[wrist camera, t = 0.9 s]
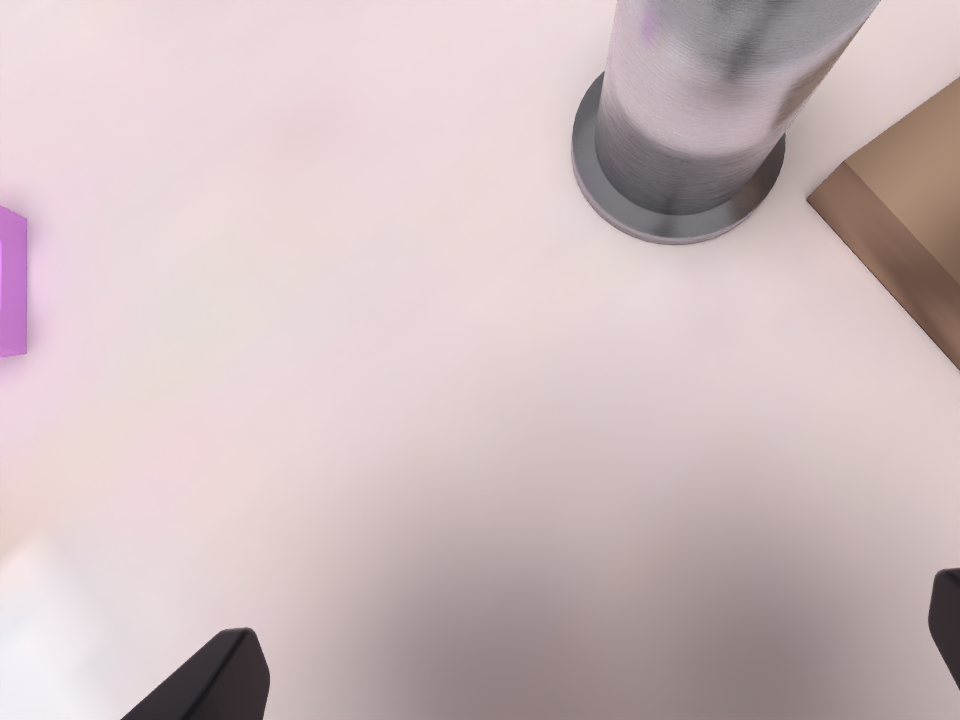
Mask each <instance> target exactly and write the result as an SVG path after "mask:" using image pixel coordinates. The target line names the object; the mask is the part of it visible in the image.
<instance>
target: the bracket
mask: <svg viewBox="0 0 960 720" xmlns="http://www.w3.org/2000/svg"><path fill="white" fill-rule="evenodd" d="M26 320H27V219H26V218H24V217H22V216H20V215H18V214H16V213H14V212H12V211H10V210H8V209H6V208H4V207H2V206H1V205H0V357H5V356H12V355H19V354H26Z"/></svg>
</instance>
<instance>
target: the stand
mask: <svg viewBox="0 0 960 720" xmlns="http://www.w3.org/2000/svg"><path fill="white" fill-rule="evenodd" d="M806 200H807V201H808V202H809V203H810V204H811V205H812V206H813V207H814V209H815V210H816V211H817V212H818V213H819V214H820V215H821V216H822V217H823V219H824V220H825V221H826V222H827V223H828V224H829V225H830V226H831V227H832V229H833V230H834V231H835V232H836V233H837V234H838V235H839V236H840V237H841V239H842V240H843V241H844V242H845V243H846V244H847V245H848V246H849V247H850V249H851V250H852V251H853V252H854V253H855V254H856V255H857V256H858V257H859V258H860V260H861V261H862V262H863V263H864V264H865V265H866V266H867V267H868V268H869V270H870V271H871V272H872V273H873V274H874V275H875V276H876V277H877V278H878V280H879V281H880V282H881V283H882V284H883V285H884V286H885V287H886V288H887V290H888V291H889V292H890V293H891V294H892V295H893V296H894V297H895V298H896V300H897V301H898V302H899V303H900V304H901V305H902V306H903V307H904V308H905V310H906V311H907V312H908V313H909V314H910V315H911V316H912V317H913V318H914V320H915V321H916V322H917V323H918V324H919V325H920V326H921V327H922V328H923V330H924V331H925V332H926V333H927V334H928V335H929V336H930V337H931V338H932V340H933V341H934V342H935V343H936V344H937V345H938V346H939V347H940V348H941V350H942V351H943V352H944V353H945V354H946V355H947V356H948V357H949V358H950V360H951V361H952V362H953V363H954V364H955V365H956V366H957V367H958V368H959V370H960V77H959V78H957V79H956V80H955V81H953V82H952V83H951V84H949V85H948V86H946V87H945V88H944V89H942V90H941V91H939V92H938V93H937V94H935V95H934V96H933V97H931V98H930V99H928V100H927V101H926V102H924V103H923V104H922V105H920V106H919V107H917V108H916V109H915V110H913V111H912V112H911V113H909V114H908V115H906V116H905V117H904V118H902V119H901V120H900V121H898V122H897V123H895V124H894V125H893V126H891V127H890V128H888V129H887V130H886V131H884V132H883V133H882V134H880V135H879V136H877V137H876V138H875V139H873V140H872V141H871V142H869V143H868V144H866V145H865V146H864V147H862V148H861V149H860V150H858V151H857V152H855V153H854V154H853V155H851V156H850V157H849V158H847V159H846V160H844V161H843V162H842V163H841V164H840V165H839V166H838V167H837V168H836V169H835V170H834V172H833V173H832V174H831V175H830V176H829V177H828V178H827V179H826V180H825V181H824V182H823V183H822V184H821V185H820V186H819V187H818V188H817V189H816V190H815V191H814V192H813V193H812V194H811V195H810V196H809V197H808V198H807V199H806Z"/></svg>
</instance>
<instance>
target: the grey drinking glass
mask: <svg viewBox="0 0 960 720" xmlns="http://www.w3.org/2000/svg"><path fill="white" fill-rule="evenodd" d="M880 1H881V0H618V1H617V6H616V12H615V18H614V24H613V29H612V35H611V41H610V46H609V52H608V58H607V63H606V69H605V71H604V72H603V73H602V74H601V75H600V76H599V77H598V78H597V79H596V80H595V81H594V82H593V84H592V85H591V86H590V88H589V89H588V90H587V92H586V94H585V95H584V97H583V99H582V101H581V103H580V105H579V108H578V111H577V113H576V117H575V122H574V126H573V135H572V146H571V154H572V164H573V169H574V174H575V176H576V179H577V182H578V185H579V187H580V189H581V191H582V193H583V195H584V196H585V198H586V199H587V201H588V202H589V203H590V205H591V206H592V207H593V208H594V210H595V211H596V212H597V213H598V214H599V215H600V216H601V217H602V218H604V219H605V220H606V221H607V222H608V223H610V224H611V225H612V226H614V227H616V228H617V229H619V230H620V231H622V232H624V233H626V234H628V235H631V236H633V237H635V238H638V239H642V240H645V241H648V242H653V243H659V244H670V245H680V244H691V243H697V242H702V241H705V240H709V239H712V238H715V237H717V236H719V235H721V234H724V233H726V232H728V231H729V230H731V229H733V228H734V227H736V226H737V225H739V224H740V223H741V222H743V221H744V220H745V219H746V218H747V217H749V216H750V215H751V213H752V212H753V211H754V210H755V209H756V208H757V207H758V206H759V205H760V203H761V202H762V201H763V200H764V199H765V197H766V196H767V194H768V193H769V191H770V190H771V189H772V187H773V185H774V183H775V181H776V179H777V177H778V175H779V173H780V170H781V167H782V163H783V159H784V153H785V131H786V130H787V128H788V127H789V126H790V124H791V123H792V122H793V120H794V119H795V117H796V116H797V115H798V113H799V112H800V111H801V109H802V108H803V106H804V105H805V104H806V102H807V101H808V100H809V98H810V97H811V95H812V94H813V93H814V91H815V90H816V89H817V87H818V86H819V85H820V83H821V82H822V80H823V79H824V78H825V76H826V75H827V74H828V72H829V71H830V69H831V68H832V67H833V65H834V64H835V63H836V61H837V60H838V58H839V57H840V56H841V54H842V53H843V52H844V50H845V49H846V47H847V46H848V45H849V43H850V42H851V41H852V39H853V38H854V37H855V35H856V34H857V32H858V31H859V30H860V28H861V27H862V26H863V24H864V23H865V21H866V20H867V19H868V17H869V16H870V15H871V13H872V12H873V10H874V9H875V8H876V6H877V5H878V4H879V2H880Z"/></svg>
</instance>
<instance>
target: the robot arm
mask: <svg viewBox="0 0 960 720" xmlns="http://www.w3.org/2000/svg"><path fill="white" fill-rule="evenodd" d="M928 623H929V629H930V633H931V635H932V638H933V640H934V642H935V644H936V646H937V648H938V650H939V652H940V654H941V655H942V657H943V659H944V661H945V663H946V665H947V667H948V669H949V671H950V673H951V675H952V676H953V678H954V680H955V682H956V684H957V686H958V688H959V690H960V568H951V569H943V570H940V571H938V572H937V574H936V575H935V578H934V583H933V590H932V596H931V603H930V609H929V616H928ZM269 687H270V673H269V668H268V665H267V663H266V660H265V657H264V654H263V652H262V649H261V646H260V643H259V641H258V638H257V635H256V633H255V632H254V631H253V630H252V629H251V628H234V629H226V630H222V631H220V632H219V633H218V634H216V635H215V636H214V637H213V638H212V639H211V640H210V641H209V642H207V643H206V644H205V645H204V646H203V647H202V648H201V649H200V650H198V651H197V652H196V653H195V654H194V655H193V656H192V657H191V658H189V659H188V660H187V661H186V662H185V663H184V664H183V665H181V666H180V667H179V668H178V669H177V670H176V671H175V672H174V673H172V674H171V675H170V676H169V677H168V678H167V679H166V680H165V681H163V682H162V683H161V684H160V685H159V686H158V687H157V688H156V689H154V690H153V691H152V692H151V693H150V694H149V695H148V696H147V697H145V698H144V699H143V700H142V701H141V702H140V703H139V704H138V705H136V706H135V707H134V708H133V709H132V710H131V711H130V712H129V713H127V714H126V715H125V716H124V717H123V718H122V719H121V720H263V716H264V711H265V706H266V702H267V697H268V692H269Z"/></svg>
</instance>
